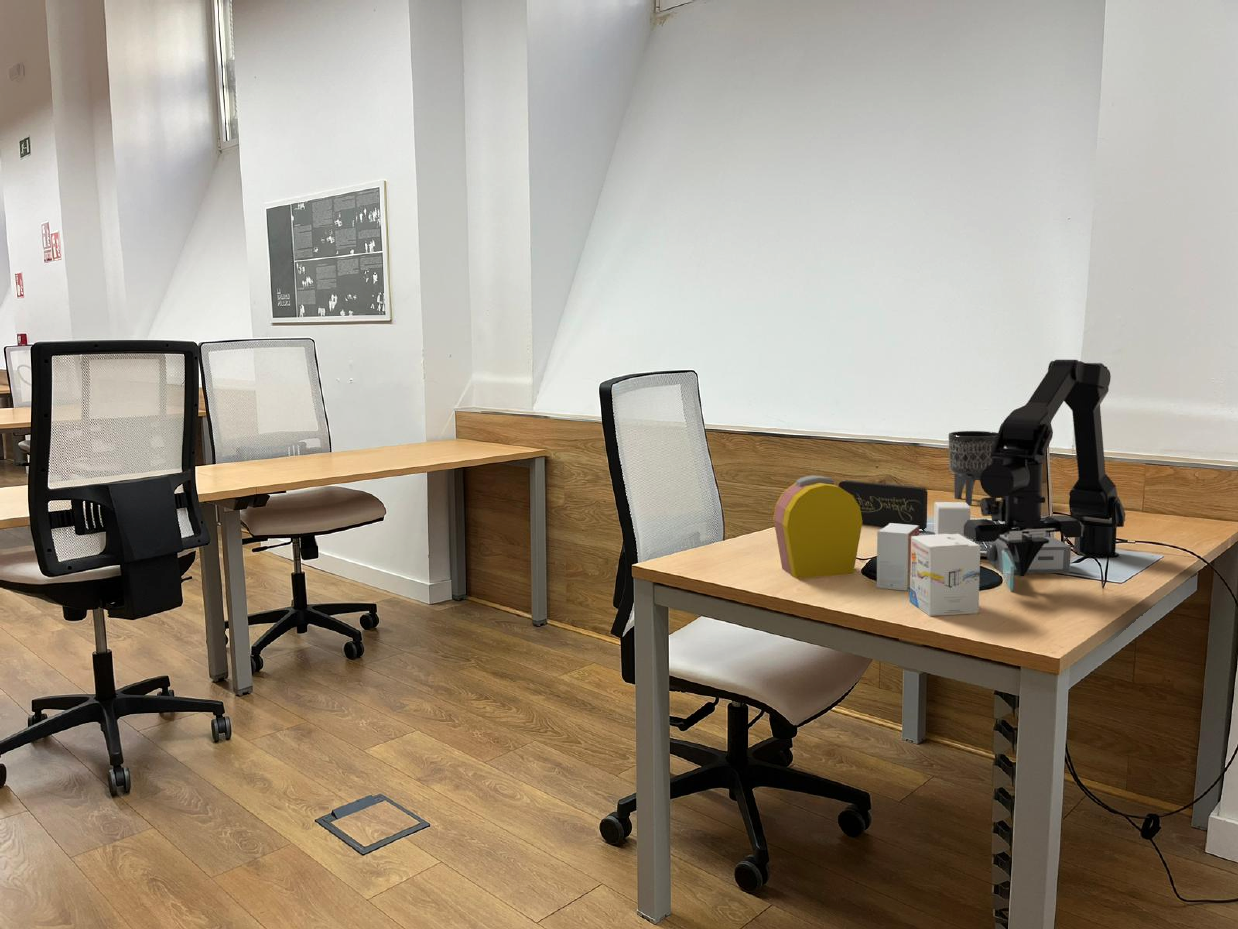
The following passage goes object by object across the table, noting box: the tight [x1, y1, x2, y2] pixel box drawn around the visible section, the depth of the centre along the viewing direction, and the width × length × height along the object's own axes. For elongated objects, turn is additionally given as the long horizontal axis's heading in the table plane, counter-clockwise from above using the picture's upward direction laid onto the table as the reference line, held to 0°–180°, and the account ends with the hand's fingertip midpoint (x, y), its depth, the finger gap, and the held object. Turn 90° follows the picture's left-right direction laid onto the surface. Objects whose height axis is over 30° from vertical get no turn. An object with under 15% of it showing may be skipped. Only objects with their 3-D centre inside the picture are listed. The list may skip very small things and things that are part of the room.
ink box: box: [909, 533, 981, 617], centre depth 152 cm, size 9×8×12 cm
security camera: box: [933, 501, 972, 539], centre depth 188 cm, size 6×7×10 cm
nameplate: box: [838, 479, 929, 531], centre depth 214 cm, size 21×2×10 cm, turn 49°
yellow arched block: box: [772, 474, 863, 580], centre depth 177 cm, size 15×8×18 cm, turn 100°
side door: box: [1000, 550, 1014, 591], centre depth 166 cm, size 12×1×4 cm, turn 164°
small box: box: [876, 523, 920, 592], centre depth 167 cm, size 8×6×10 cm
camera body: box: [985, 536, 1072, 575], centre depth 175 cm, size 13×8×6 cm, turn 87°
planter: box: [948, 430, 998, 506], centre depth 239 cm, size 13×13×18 cm
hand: (1021, 576), depth 162 cm, fingers closed
